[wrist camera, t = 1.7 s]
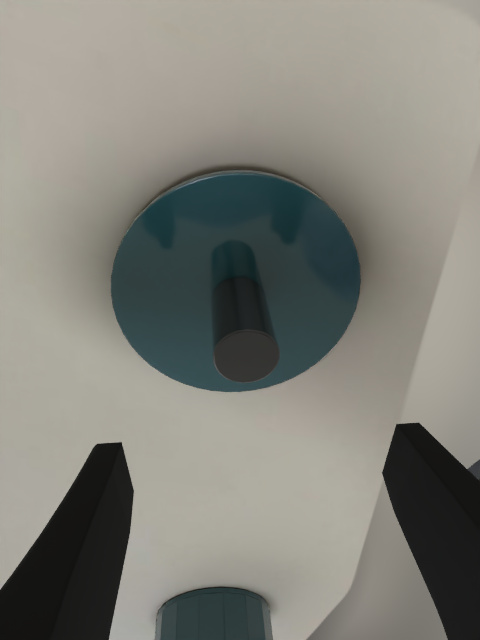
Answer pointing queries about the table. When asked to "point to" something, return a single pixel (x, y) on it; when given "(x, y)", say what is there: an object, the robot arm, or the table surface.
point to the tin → (215, 616)
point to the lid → (235, 281)
